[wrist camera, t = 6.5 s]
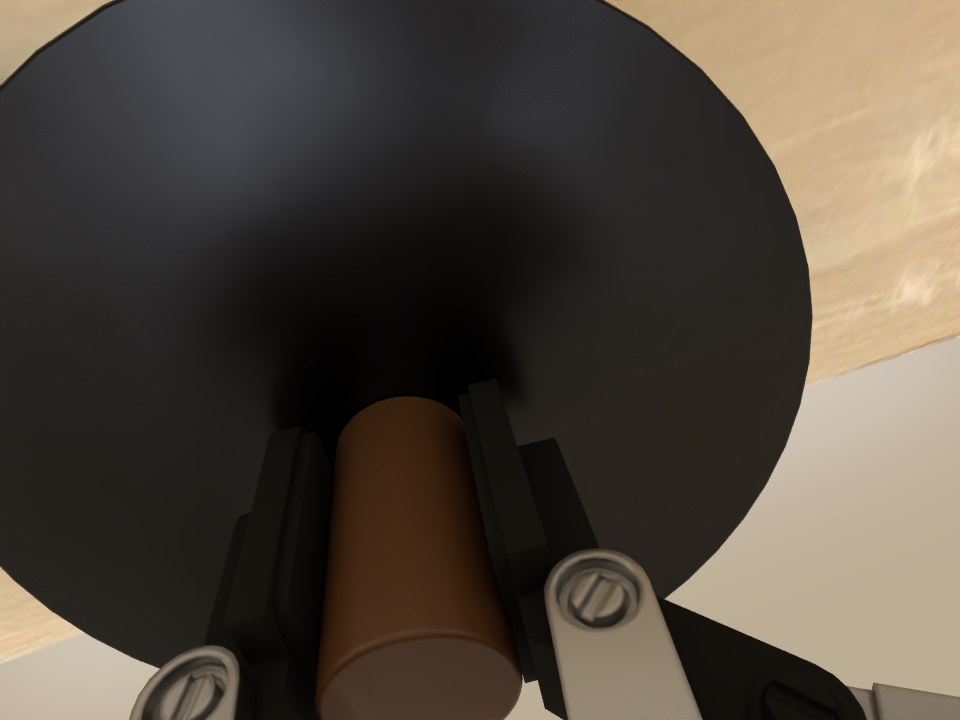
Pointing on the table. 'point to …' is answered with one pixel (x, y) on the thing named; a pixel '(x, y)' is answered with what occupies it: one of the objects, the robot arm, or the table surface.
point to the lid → (378, 312)
